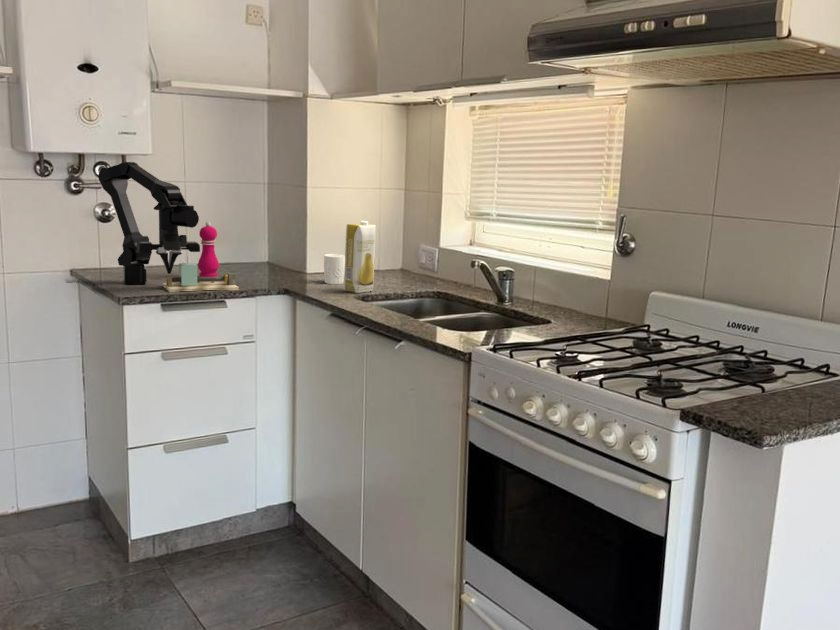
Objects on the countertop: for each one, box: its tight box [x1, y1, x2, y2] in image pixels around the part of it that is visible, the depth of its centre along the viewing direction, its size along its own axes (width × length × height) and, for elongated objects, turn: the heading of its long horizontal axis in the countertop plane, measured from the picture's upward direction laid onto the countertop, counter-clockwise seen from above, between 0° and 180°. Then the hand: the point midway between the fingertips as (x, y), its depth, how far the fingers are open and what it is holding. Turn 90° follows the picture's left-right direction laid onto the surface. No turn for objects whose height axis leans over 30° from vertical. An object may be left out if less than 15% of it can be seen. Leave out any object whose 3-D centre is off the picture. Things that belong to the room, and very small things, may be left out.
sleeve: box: [178, 262, 198, 286], centre depth 258 cm, size 5×4×7 cm
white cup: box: [323, 253, 345, 285], centre depth 284 cm, size 8×8×10 cm
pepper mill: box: [197, 221, 220, 277], centre depth 279 cm, size 7×7×20 cm
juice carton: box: [343, 220, 377, 294], centre depth 268 cm, size 9×8×24 cm
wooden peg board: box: [162, 272, 240, 293], centre depth 260 cm, size 22×12×5 cm, turn 117°
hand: (169, 273), depth 255 cm, fingers closed
